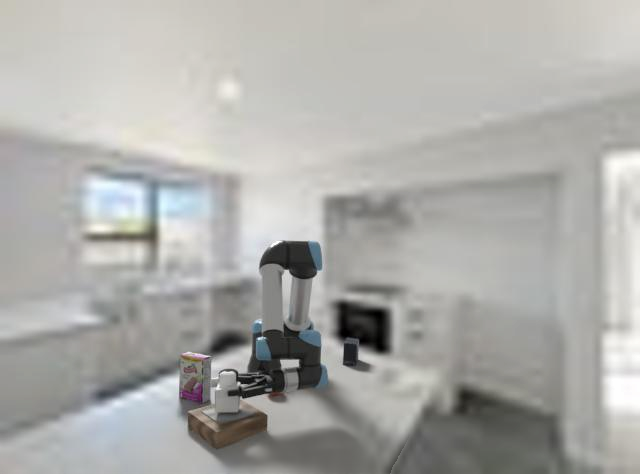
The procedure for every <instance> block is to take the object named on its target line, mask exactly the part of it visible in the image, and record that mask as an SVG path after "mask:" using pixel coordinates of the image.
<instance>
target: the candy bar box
mask: <svg viewBox="0 0 640 474" xmlns="http://www.w3.org/2000/svg"><path fill="white" fill-rule="evenodd" d="M211 377H212V356H211V355H208V354H203V353H198V352H194V351H193V352H192V351H186V352H184V353H181V354H179V382H178V383H179V388H178V389H179V390H178V398H179V399H184V400H187V401H192V402H195V403H199V404H204V403H207V402H208V401H210V400H211V393H212V392H211V390H212V389H211Z"/></svg>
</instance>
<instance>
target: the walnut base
mask: <svg viewBox="0 0 640 474" xmlns="http://www.w3.org/2000/svg"><path fill="white" fill-rule="evenodd" d="M268 416H269V415H268V414H266V413H265V412H263V411H261V410H259V409H258V408H256V407H254V406H253V405H251V404H249V403H247V402H246V401H244V400H242V399H240V406H239V410H238V412H215V403H213V404H209V405H205V406H202V407H199V408H195V409H191V410H188V411H187V428H189V430H191V431H192V432H194V433H195V434H196V435H197V436H199V437H200V438H201V439H202V440H204V442H206V443H207V444H209V445H210V446H212V447H213V448H214V449H215V450H218V449H221V448H224V447H227V446H229V445H231V444H235V443H237V442H241V441H243V440H246V439H248V438H252V437H254V436H256V435H259V434H262V433H265V432H267V431H268Z"/></svg>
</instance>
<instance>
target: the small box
mask: <svg viewBox="0 0 640 474" xmlns="http://www.w3.org/2000/svg"><path fill="white" fill-rule="evenodd" d="M359 346H360V339H359V338H352V337H346V338H345V340H344V342H343V352H342V355H343V357H342V365H344V366H346V365H347V366H354V367H355V366H356V365H357V363H358V360H359V349H360V347H359Z"/></svg>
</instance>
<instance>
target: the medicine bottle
mask: <svg viewBox="0 0 640 474" xmlns="http://www.w3.org/2000/svg"><path fill="white" fill-rule="evenodd" d="M238 373H239V371H238V370H237V369H234V368H224V369H222V370H219V372H218V378H219V383H218V385H217V387H215V390H214V392H215V393H214V404H215V412H238V410H239V406H240V400H241V397H239V396H235V397H227V398H219V399H216V389H221V388H230V387H238V388H239V385H240V386H242V384H241V382H238Z"/></svg>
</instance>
